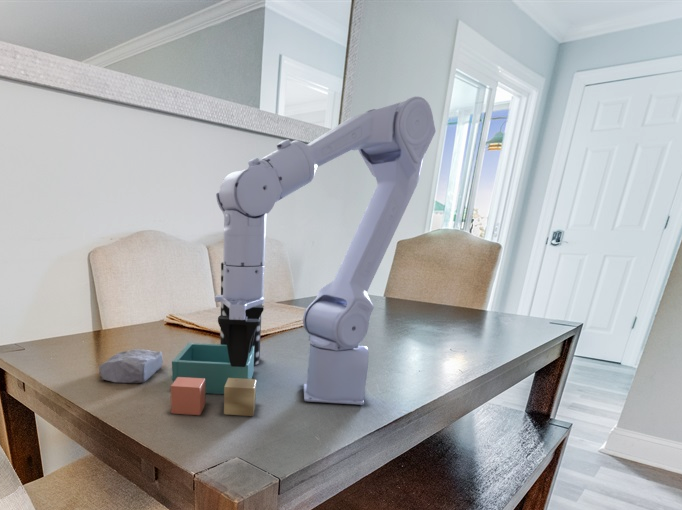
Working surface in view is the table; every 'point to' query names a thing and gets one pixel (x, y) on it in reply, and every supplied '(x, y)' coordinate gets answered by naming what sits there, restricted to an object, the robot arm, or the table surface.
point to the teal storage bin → (210, 365)
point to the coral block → (188, 396)
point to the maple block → (240, 396)
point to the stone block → (131, 366)
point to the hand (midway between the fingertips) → (241, 358)
